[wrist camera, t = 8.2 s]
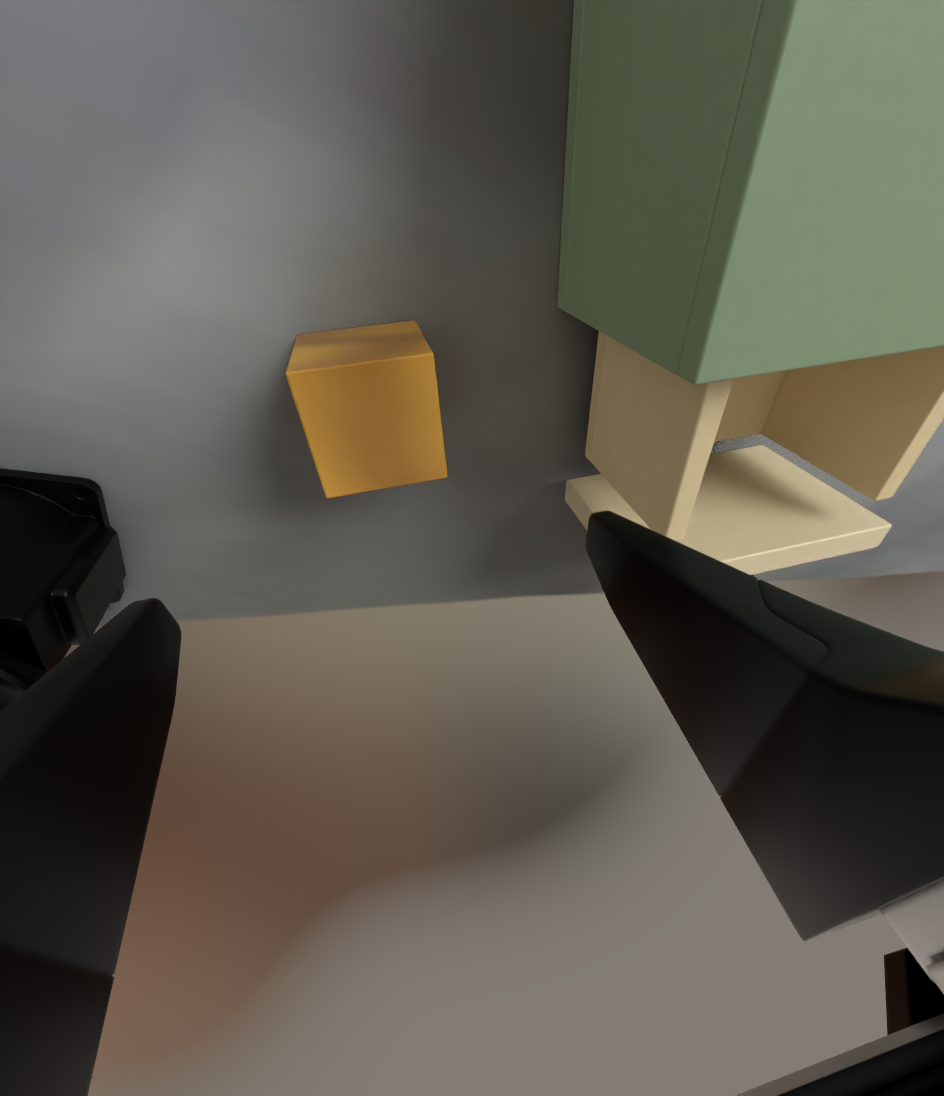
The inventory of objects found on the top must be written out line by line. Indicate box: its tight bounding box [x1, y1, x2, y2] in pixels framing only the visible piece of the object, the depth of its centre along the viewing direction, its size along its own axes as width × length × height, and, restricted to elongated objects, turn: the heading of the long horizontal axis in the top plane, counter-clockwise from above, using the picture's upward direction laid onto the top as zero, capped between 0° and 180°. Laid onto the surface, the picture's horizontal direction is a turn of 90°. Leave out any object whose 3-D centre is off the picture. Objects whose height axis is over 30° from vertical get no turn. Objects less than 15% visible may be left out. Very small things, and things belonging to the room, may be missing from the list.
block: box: [285, 320, 448, 498], centre depth 16 cm, size 4×4×4 cm
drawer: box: [565, 331, 944, 576], centre depth 18 cm, size 17×11×7 cm, turn 4°
